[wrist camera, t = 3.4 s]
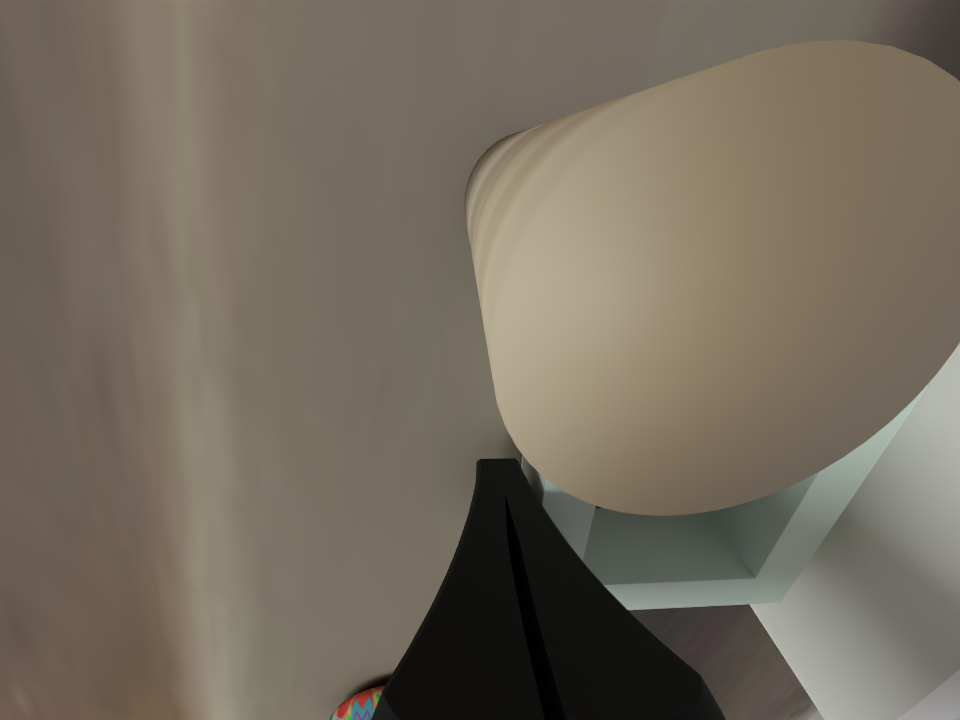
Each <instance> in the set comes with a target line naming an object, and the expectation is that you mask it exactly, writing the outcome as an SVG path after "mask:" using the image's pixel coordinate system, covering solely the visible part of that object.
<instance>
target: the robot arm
mask: <svg viewBox="0 0 960 720" xmlns="http://www.w3.org/2000/svg"><path fill="white" fill-rule="evenodd" d="M371 720H726V719H725V717H724V715H723V713H722V711H721V709H720V708H719V706H718V704H717V702H716V701H715V699H714V697H713V695H712V694H711V692H710V690H709V689H708V687H707V685H706V684H705V682H704V680H703V679H702V677H701V675H699V674H698V673H697V672H696V671H695V670H693V669H692V668H691V667H690V666H689V665H687V664H686V663H685V662H684V661H683V660H681V659H680V658H679V657H678V656H677V655H676V654H674V653H673V652H672V651H671V650H670V649H669V648H668V647H667V646H665V645H664V644H663V643H662V642H661V641H660V640H659V639H658V638H656V637H655V636H654V635H653V634H652V633H651V632H650V631H649V630H648V629H647V628H646V627H645V626H644V625H643V624H641V623H640V622H639V621H638V620H637V619H636V618H635V617H634V616H633V615H632V614H631V613H630V612H629V611H628V610H627V609H626V608H625V607H624V606H623V605H622V604H621V603H620V602H619V601H618V600H617V599H616V597H615V596H614V595H613V594H612V593H611V592H610V591H609V590H608V589H607V588H606V587H605V586H604V585H603V584H602V583H601V582H600V580H599V579H598V578H597V577H596V576H595V575H594V574H593V573H592V571H591V570H590V569H589V568H588V567H587V566H586V564H585V563H584V562H583V561H582V560H581V558H580V557H579V556H578V555H577V553H576V552H575V551H574V550H573V548H572V547H571V546H570V544H569V543H568V542H567V540H566V539H565V538H564V536H563V535H562V534H561V532H560V531H559V529H558V528H557V527H556V525H555V524H554V522H553V521H552V519H551V518H550V516H549V515H548V513H547V512H546V510H545V509H544V507H543V505H542V504H541V502H540V501H539V499H538V497H537V496H536V494H535V492H534V491H533V489H532V487H531V485H530V484H529V482H528V480H527V478H526V476H525V474H524V472H523V470H522V468H521V466H520V464H519V461H518V460H516V459H515V458H510V459H480V460H479V461H477V468H476V484H475V489H474V494H473V498H472V502H471V506H470V510H469V514H468V517H467V520H466V523H465V526H464V529H463V532H462V535H461V538H460V541H459V544H458V547H457V549H456V552H455V554H454V557H453V559H452V562H451V564H450V567H449V569H448V571H447V574H446V576H445V578H444V580H443V582H442V584H441V587H440V589H439V591H438V593H437V595H436V597H435V599H434V601H433V603H432V605H431V607H430V609H429V611H428V613H427V615H426V617H425V619H424V620H423V622H422V624H421V626H420V628H419V630H418V631H417V633H416V635H415V637H414V639H413V641H412V642H411V644H410V646H409V648H408V649H407V651H406V653H405V654H404V656H403V658H402V659H401V661H400V663H399V664H398V666H397V667H396V669H395V671H394V672H393V674H392V676H391V677H390V679H389V680H388V682H387V684H386V685H385V687H384V689H383V690H382V693H381V696H380V698H379V701H378V703H377V706H376V708H375V711H374V713H373V716H372V718H371ZM954 720H960V716H958V717H957V718H956V719H954Z"/></svg>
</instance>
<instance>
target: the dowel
mask: <svg viewBox="0 0 960 720" xmlns="http://www.w3.org/2000/svg"><path fill="white" fill-rule="evenodd" d="M464 205H465V216H466V222H467V228H468V234H469V240H470V246H471V252H472V258H473V264H474V270H475V276H476V282H477V288H478V294H479V300H480V305H481V311H482V317H483V323H484V329H485V335H486V341H487V347H488V353H489V359H490V365H491V371H492V377H493V382H494V388H495V393H496V399H497V404H498V407H499V410H500V413H501V415H502V418H503V421H504V424H505V427H506V429H507V430H508V432H509V434H510V436H511V438H512V440H513V441H514V443H515V445H516V447H517V448H518V449H519V451H520V452H521V453H522V455H523V456H524V457H525V458H526V460H527V461H528V462H529V464H530V465H531V466H533V467H534V468H535V469H536V470H537V471H538V472H539V473H540V474H541V475H542V476H543V477H544V478H545V479H547V480H548V481H549V482H551V483H552V484H554V485H555V486H557V487H558V488H560V489H561V490H562V491H564V492H566V493H568V494H570V495H572V496H574V497H576V498H578V499H580V500H582V501H585V502H587V503H590V504H593V505H596V506H599V507H601V508H605V509H610V510H614V511H618V512H623V513H630V514H639V515H652V516H674V515H687V514H697V513H703V512H709V511H715V510H720V509H724V508H728V507H732V506H736V505H740V504H744V503H747V502H750V501H753V500H756V499H759V498H762V497H765V496H768V495H770V494H773V493H775V492H778V491H780V490H782V489H785V488H787V487H790V486H792V485H794V484H796V483H798V482H800V481H802V480H804V479H806V478H808V477H810V476H812V475H814V474H816V473H818V472H820V471H821V470H823V469H825V468H826V467H828V466H830V465H831V464H833V463H835V462H836V461H838V460H840V459H841V458H843V457H845V456H846V455H847V454H849V453H850V452H852V451H853V450H855V449H856V448H857V447H859V446H860V445H862V444H863V443H864V442H866V441H867V440H869V439H870V438H871V437H872V436H874V435H875V434H876V433H877V432H878V431H880V430H881V429H882V428H883V427H885V426H886V425H887V424H888V423H889V422H891V421H892V420H893V419H894V418H895V417H896V416H897V415H898V414H899V413H900V412H901V411H902V410H903V409H904V408H906V407H907V406H908V405H909V404H910V403H911V402H912V401H913V400H914V399H915V398H916V397H917V396H918V394H919V393H920V392H921V391H922V390H923V389H924V388H925V387H926V386H927V384H928V383H929V382H930V381H931V380H932V379H933V378H934V377H935V376H936V374H937V373H938V372H939V370H940V369H941V368H942V366H943V365H944V364H945V362H946V361H947V360H948V358H949V357H950V356H951V354H952V353H953V352H954V350H955V349H956V348H957V346H958V344H959V343H960V82H959V81H958V80H957V79H956V78H955V77H953V76H952V75H950V74H949V73H947V72H946V71H944V70H943V69H941V68H939V67H938V66H936V65H935V64H933V63H932V62H930V61H929V60H927V59H925V58H922V57H919V56H917V55H914V54H911V53H908V52H906V51H903V50H900V49H897V48H895V47H892V46H887V45H880V44H873V43H866V42H859V41H853V40H843V41H815V42H803V43H798V44H793V45H788V46H783V47H778V48H773V49H768V50H763V51H759V52H756V53H753V54H750V55H747V56H744V57H741V58H738V59H735V60H732V61H729V62H726V63H723V64H720V65H717V66H714V67H711V68H708V69H705V70H702V71H700V72H697V73H694V74H691V75H688V76H685V77H682V78H679V79H676V80H673V81H670V82H667V83H664V84H661V85H658V86H655V87H652V88H649V89H646V90H643V91H640V92H637V93H634V94H631V95H628V96H625V97H622V98H619V99H616V100H613V101H610V102H607V103H604V104H601V105H598V106H595V107H592V108H589V109H586V110H583V111H580V112H577V113H574V114H571V115H568V116H565V117H562V118H559V119H556V120H553V121H550V122H547V123H544V124H541V125H538V126H535V127H533V128H530V129H527V130H524V131H521V132H518V133H515V134H512V135H509V136H507V137H505V138H503V139H501V140H499V141H498V142H496V143H495V144H494V145H492V146H491V147H490V148H489V149H488V150H487V151H486V152H485V153H484V154H483V155H482V156H481V158H480V159H479V160H478V162H477V163H476V165H475V167H474V168H473V171H472V173H471V175H470V177H469V180H468V183H467V187H466V192H465V203H464Z"/></svg>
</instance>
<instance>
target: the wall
mask: <svg viewBox="0 0 960 720" xmlns="http://www.w3.org/2000/svg"><path fill="white" fill-rule="evenodd" d="M928 384H929V386H928V388H927V389H926V391H925V392H924V394H923V395H922V396H921V398H920V399H919V401H918V402H917V404H916V405H915V407H914V408H913V410H912V411H911V413H910V414H909V415H908V417H907V418H906V420H905V421H904V423H903V424H902V426H901V427H900V429H899V430H898V432H897V433H896V434H895V436H894V437H893V439H892V440H891V442H890V443H889V445H888V446H887V448H886V449H885V451H884V452H883V453H882V455H881V456H880V458H879V459H878V461H877V462H876V464H875V465H874V467H873V468H872V470H871V471H870V472H869V474H868V475H867V477H866V478H865V480H864V481H863V483H862V484H861V486H860V487H859V489H858V490H857V491H856V493H855V494H854V496H853V497H852V499H851V500H850V502H849V503H848V505H847V506H846V507H845V509H844V510H843V512H842V513H841V515H840V516H839V518H838V519H837V521H836V522H835V524H834V525H833V526H832V528H831V529H830V531H829V532H828V534H827V535H826V537H825V538H824V540H823V541H822V543H821V544H820V545H819V547H818V548H817V550H816V551H815V553H814V554H813V556H812V557H811V559H810V560H809V562H808V563H807V564H806V566H805V567H804V569H803V570H802V572H801V573H800V575H799V576H798V578H797V579H796V581H795V582H794V583H793V585H792V586H791V588H790V589H789V591H788V592H787V594H786V595H785V597H784V598H783V600H782V601H781V602H780V603H763V604H750V606H751V608H752V609H753V611H754V612H755V614H756V615H757V617H758V618H759V620H760V621H761V623H762V624H763V626H764V627H765V629H766V631H767V632H768V634H769V635H770V637H771V638H772V640H773V641H774V643H775V644H776V646H777V647H778V649H779V650H780V652H781V654H782V655H783V657H784V658H785V660H786V661H787V663H788V664H789V666H790V667H791V669H792V670H793V672H794V673H795V675H796V677H797V678H798V680H799V681H800V683H801V684H802V686H803V687H804V689H805V690H806V692H807V693H808V695H809V696H810V698H811V699H812V701H813V703H814V704H815V706H816V707H817V709H818V710H819V712H820V713H821V715H822V716H823V718H824V719H825V720H954V719H956V718H957V717H958V716H960V343H959V344H958V346H957V348H956V349H955V350H954V352H953V353H952V354H951V356H950V357H949V358H948V360H947V361H946V362H945V364H944V365H943V366H942V368H941V369H940V370H939V372H938V373H937V374H936V376H935V377H934V378H933V379H932V380H931V381H930V382H929V383H928Z"/></svg>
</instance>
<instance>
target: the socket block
mask: <svg viewBox="0 0 960 720" xmlns="http://www.w3.org/2000/svg"><path fill="white" fill-rule="evenodd" d="M928 386H929V384H927V386H926V387H925V388H924V389H923V390H922V391H921V392H920V393H919V394H918V396H917V397H916V398H915V399H914V400H913V401H912V402H911V403H910V404H909V405H908V406H907V407H906V408H904V409H903V410H902V411H901V412H900V413H899V414H898V415H897V416H896V417H895V418H894V419H893V420H892V421H891V422H889V423H888V424H887V425H886V426H885V427H883V428H882V429H881V430H880V431H878V432H877V433H876V434H875V435H874V436H872V437H871V438H870V439H869V440H867V441H866V442H864V443H863V444H862V445H860V446H859V447H857V448H856V449H855V450H853V451H852V452H850V453H849V454H847V455H846V456H845V457H843V458H841V459H840V460H838V461H836V462H835V463H833V464H831V465H830V466H828V467H826V468H825V469H823V470H821V471H820V472H818V473H816V474H814V475H812V476H810V477H808V478H806V479H804V480H802V481H800V482H798V483H796V484H794V485H792V486H790V487H787V488H785V489H782V490H780V491H778V492H775V493H773V494H770V495H768V496H765V497H762V498H759V499H756V500H753V501H750V502H747V503H744V504H740V505H736V506H732V507H728V508H724V509H720V510H715V511H709V512H703V513H697V514H687V515H674V516H652V515H639V514H630V513H623V512H618V511H614V510H610V509H605V508H596V505H593V504H590V503H587V502H585V501H582V500H580V499H578V498H576V497H574V496H572V495H570V494H568V493H566V492H564V491H562V490H561V489H560V488H558V487H557V486H555V485H554V484H552V483H551V482H549V481H548V480H547V479H545V478H544V477H543V476H542V475H541V474H540V473H539V472H538V471H537V470H536V469H535V468H534V467H533V466H531V465H530V464H529V462H528V461H527V460H526V458H525V457H524V456H523V455H522V463H521V468H522V470H523V472H524V474H525V476H526V478H527V480H528V482H529V484H530V485H531V487H532V489H533V491H534V492H535V494H536V496H537V497H538V499H539V501H540V502H541V504H542V505H543V507H544V509H545V510H546V512H547V513H548V515H549V516H550V518H551V519H552V521H553V522H554V524H555V525H556V527H557V528H558V529H559V531H560V532H561V534H562V535H563V536H564V538H565V539H566V540H567V542H568V543H569V544H570V546H571V547H572V548H573V550H574V551H575V552H576V553H577V555H578V556H579V557H580V558H581V560H582V561H583V562H584V563H585V564H586V566H587V567H588V568H589V569H590V570H591V571H592V573H593V574H594V575H595V576H596V577H597V578H598V579H599V580H600V582H601V583H602V584H603V585H604V586H605V587H606V588H607V589H608V590H609V591H610V592H611V593H612V594H613V595H614V596H615V597H616V599H617V600H618V601H619V602H620V603H621V604H622V605H623V606H624V607H625V608H626V609H627V610H640V609H660V608H681V607H702V606H722V605H743V604H763V603H780V602H781V601H782V600H783V598H784V597H785V595H786V594H787V592H788V591H789V589H790V588H791V586H792V585H793V583H794V582H795V581H796V579H797V578H798V576H799V575H800V573H801V572H802V570H803V569H804V567H805V566H806V564H807V563H808V562H809V560H810V559H811V557H812V556H813V554H814V553H815V551H816V550H817V548H818V547H819V545H820V544H821V543H822V541H823V540H824V538H825V537H826V535H827V534H828V532H829V531H830V529H831V528H832V526H833V525H834V524H835V522H836V521H837V519H838V518H839V516H840V515H841V513H842V512H843V510H844V509H845V507H846V506H847V505H848V503H849V502H850V500H851V499H852V497H853V496H854V494H855V493H856V491H857V490H858V489H859V487H860V486H861V484H862V483H863V481H864V480H865V478H866V477H867V475H868V474H869V472H870V471H871V470H872V468H873V467H874V465H875V464H876V462H877V461H878V459H879V458H880V456H881V455H882V453H883V452H884V451H885V449H886V448H887V446H888V445H889V443H890V442H891V440H892V439H893V437H894V436H895V434H896V433H897V432H898V430H899V429H900V427H901V426H902V424H903V423H904V421H905V420H906V418H907V417H908V415H909V414H910V413H911V411H912V410H913V408H914V407H915V405H916V404H917V402H918V401H919V399H920V398H921V396H922V395H923V394H924V392H925V391H926V389H927V388H928Z"/></svg>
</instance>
